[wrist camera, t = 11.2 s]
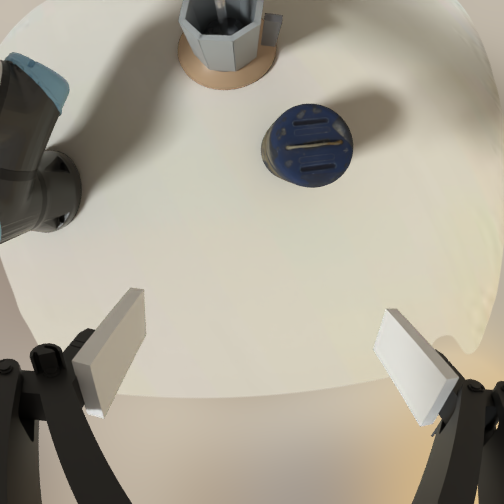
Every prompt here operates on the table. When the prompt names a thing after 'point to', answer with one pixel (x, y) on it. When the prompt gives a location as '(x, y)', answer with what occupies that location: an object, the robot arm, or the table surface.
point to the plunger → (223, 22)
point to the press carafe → (227, 44)
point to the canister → (308, 146)
